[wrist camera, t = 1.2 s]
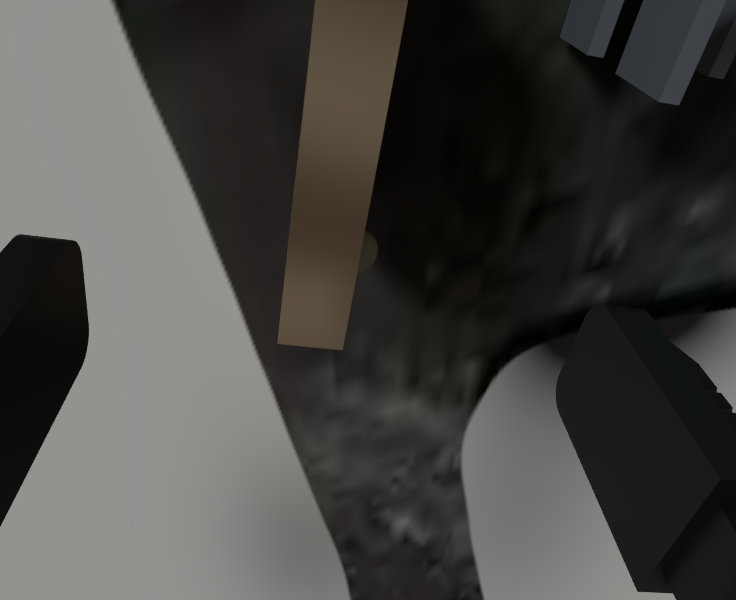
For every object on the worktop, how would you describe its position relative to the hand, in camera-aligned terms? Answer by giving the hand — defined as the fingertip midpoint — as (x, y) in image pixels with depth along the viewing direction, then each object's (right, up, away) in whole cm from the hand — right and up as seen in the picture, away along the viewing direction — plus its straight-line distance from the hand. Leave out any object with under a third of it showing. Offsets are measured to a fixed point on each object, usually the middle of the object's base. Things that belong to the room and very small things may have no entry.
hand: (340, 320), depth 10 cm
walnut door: (-1, +10, +15) cm, 18 cm away
